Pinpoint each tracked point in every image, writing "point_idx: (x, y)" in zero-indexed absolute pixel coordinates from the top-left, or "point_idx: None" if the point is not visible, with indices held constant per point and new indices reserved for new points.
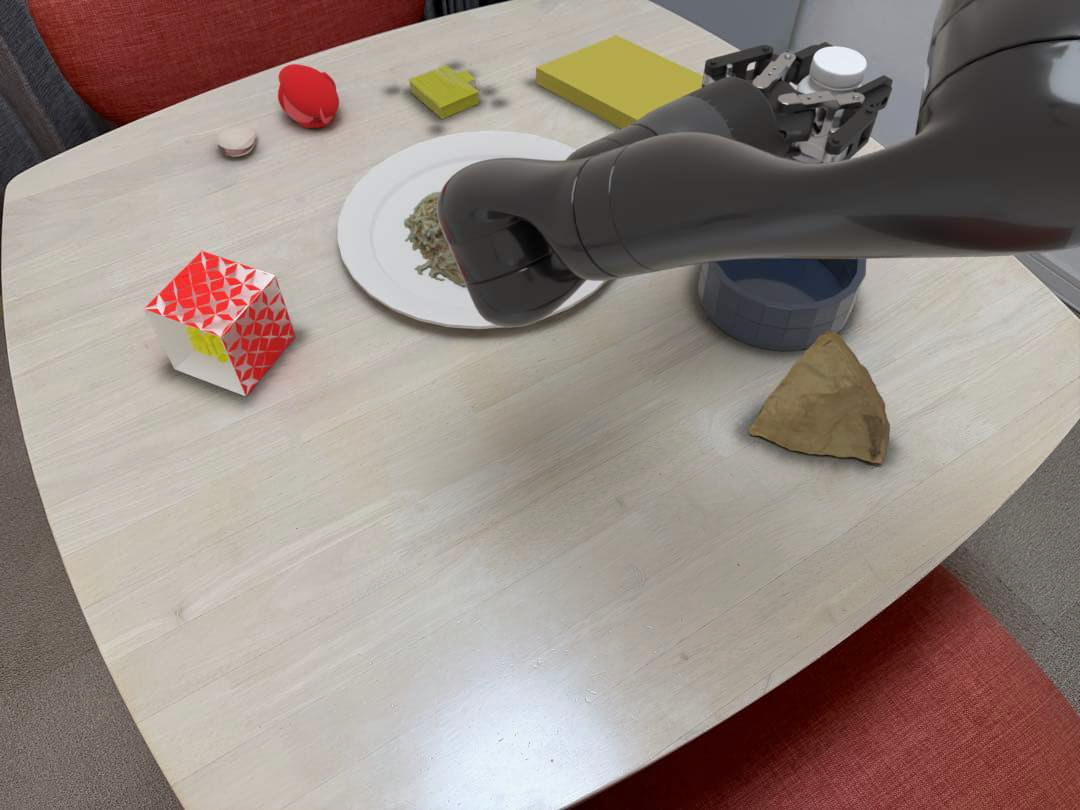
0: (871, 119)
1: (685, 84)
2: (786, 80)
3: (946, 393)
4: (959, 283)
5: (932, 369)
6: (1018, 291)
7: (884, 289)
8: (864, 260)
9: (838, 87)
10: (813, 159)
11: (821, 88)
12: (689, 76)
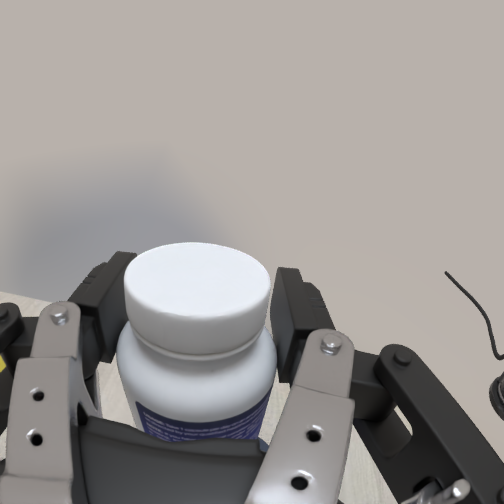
0: (433, 374)
1: None
2: (88, 371)
3: (372, 466)
4: (289, 389)
5: (350, 460)
6: None
7: (261, 432)
8: (264, 443)
9: (246, 341)
10: None
11: (198, 363)
12: None
